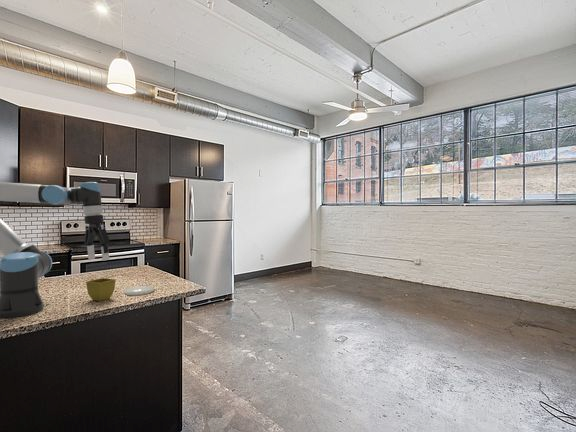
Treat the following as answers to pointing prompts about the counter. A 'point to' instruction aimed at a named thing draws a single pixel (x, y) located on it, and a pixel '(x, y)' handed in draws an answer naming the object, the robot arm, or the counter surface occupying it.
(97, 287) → the flower pot
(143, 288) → the white flat disc
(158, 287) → the counter surface
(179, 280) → the counter surface
